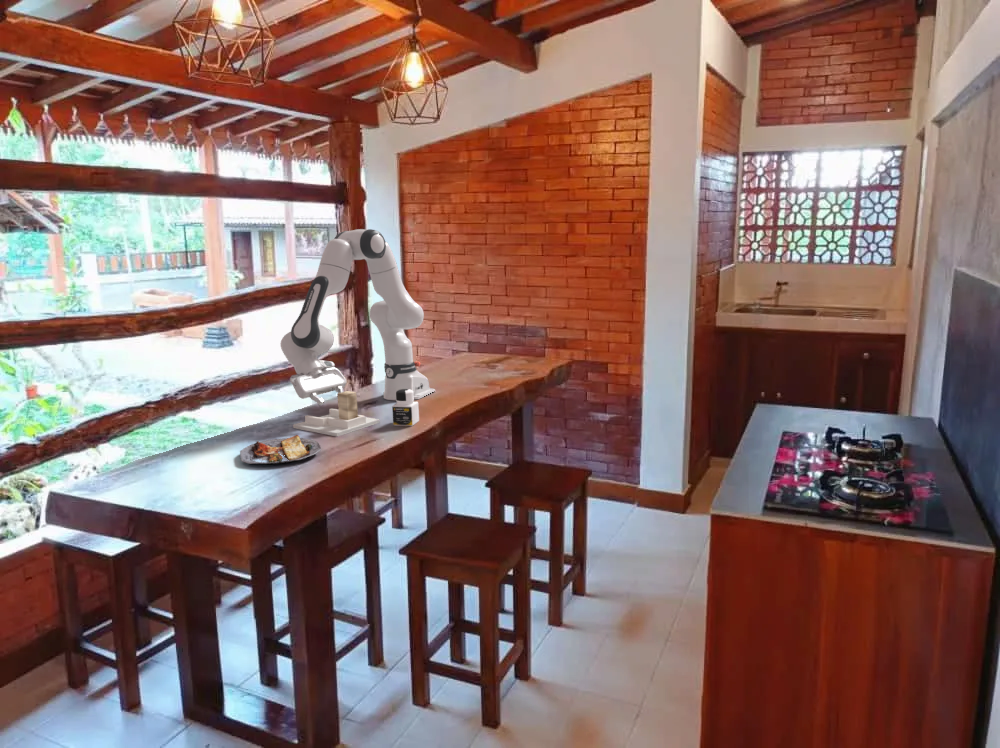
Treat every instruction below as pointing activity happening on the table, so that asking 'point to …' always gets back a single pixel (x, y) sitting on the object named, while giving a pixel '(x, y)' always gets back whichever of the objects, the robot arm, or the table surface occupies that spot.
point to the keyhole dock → (334, 424)
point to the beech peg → (347, 405)
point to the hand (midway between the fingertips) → (332, 401)
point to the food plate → (280, 450)
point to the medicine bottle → (405, 409)
